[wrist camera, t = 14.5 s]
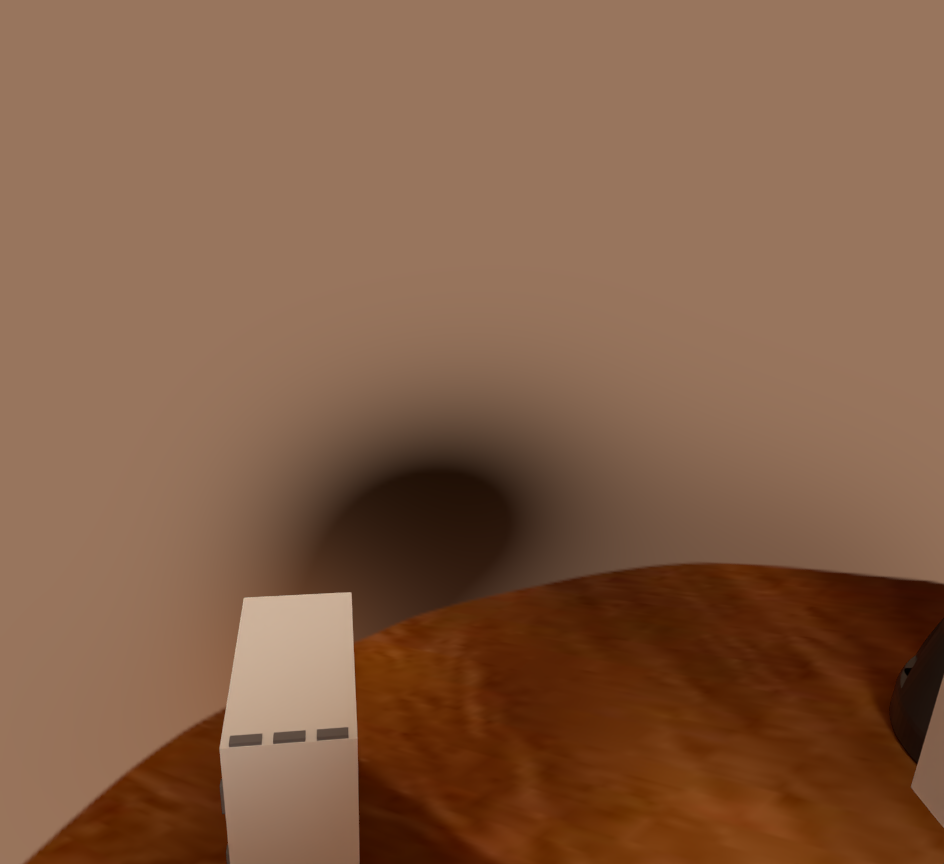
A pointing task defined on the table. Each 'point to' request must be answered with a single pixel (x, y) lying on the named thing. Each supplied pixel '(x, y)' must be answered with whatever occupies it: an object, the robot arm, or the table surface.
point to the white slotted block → (292, 734)
